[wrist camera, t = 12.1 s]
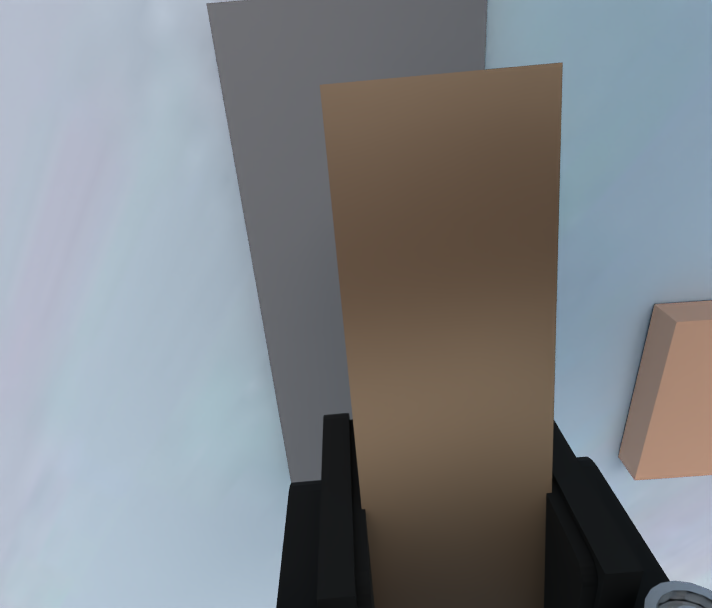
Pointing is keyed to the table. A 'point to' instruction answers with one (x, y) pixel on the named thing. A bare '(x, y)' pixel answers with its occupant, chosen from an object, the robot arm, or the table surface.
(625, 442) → the tile
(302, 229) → the tool mat
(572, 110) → the table surface
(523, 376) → the wooden beam
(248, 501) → the table surface
